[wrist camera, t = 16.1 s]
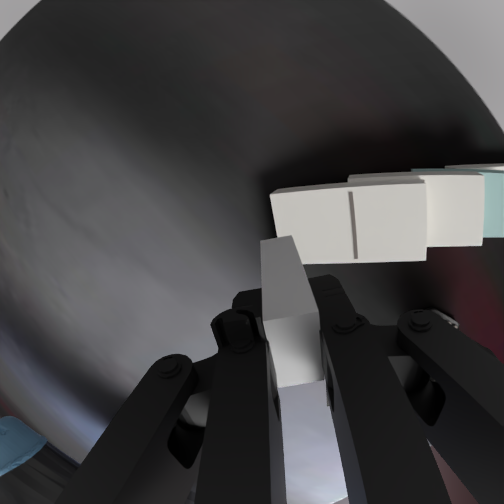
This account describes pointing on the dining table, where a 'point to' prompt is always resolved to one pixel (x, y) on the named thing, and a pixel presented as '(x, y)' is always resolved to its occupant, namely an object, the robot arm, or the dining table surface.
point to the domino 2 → (447, 204)
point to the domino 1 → (354, 221)
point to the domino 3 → (488, 199)
